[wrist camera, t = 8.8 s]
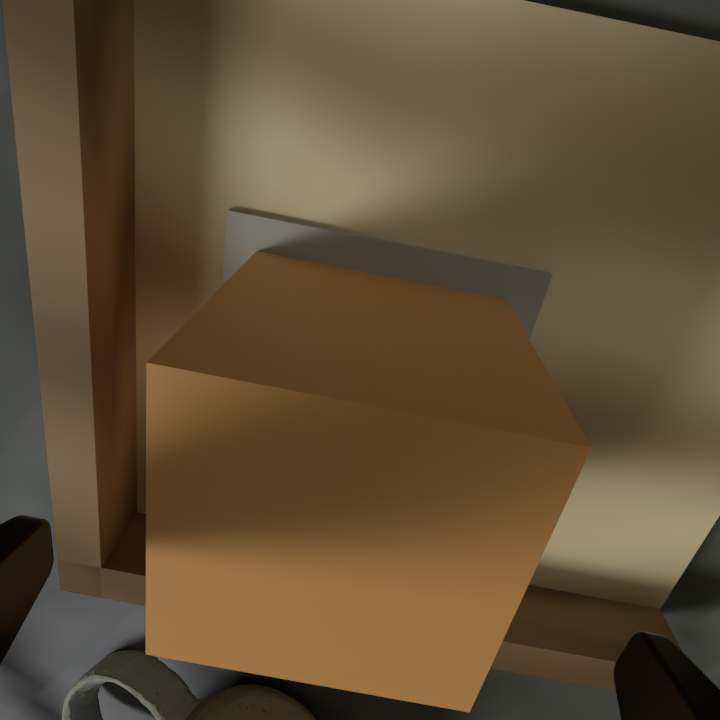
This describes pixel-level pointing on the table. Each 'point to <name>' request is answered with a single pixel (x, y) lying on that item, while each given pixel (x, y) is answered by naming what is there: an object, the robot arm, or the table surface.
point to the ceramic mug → (175, 694)
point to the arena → (387, 245)
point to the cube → (349, 481)
